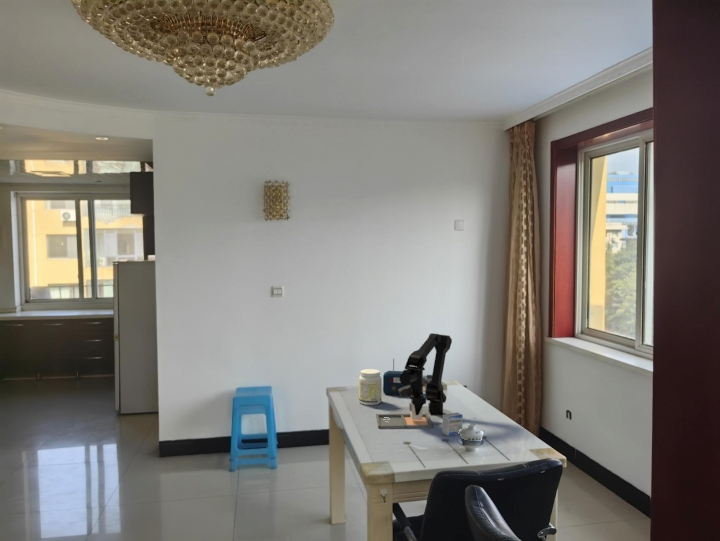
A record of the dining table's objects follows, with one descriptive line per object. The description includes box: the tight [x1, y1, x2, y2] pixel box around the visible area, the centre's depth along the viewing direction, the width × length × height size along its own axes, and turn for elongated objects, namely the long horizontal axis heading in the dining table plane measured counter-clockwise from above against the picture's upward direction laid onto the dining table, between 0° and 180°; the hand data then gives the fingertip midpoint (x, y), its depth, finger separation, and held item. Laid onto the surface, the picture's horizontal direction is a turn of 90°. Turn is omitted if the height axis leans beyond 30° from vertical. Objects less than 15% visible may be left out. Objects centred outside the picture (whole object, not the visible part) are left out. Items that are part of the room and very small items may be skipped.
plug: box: [409, 399, 423, 420], centre depth 248 cm, size 6×4×8 cm
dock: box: [375, 413, 434, 430], centre depth 248 cm, size 25×17×2 cm
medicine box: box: [442, 412, 464, 437], centre depth 234 cm, size 8×4×9 cm, turn 117°
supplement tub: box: [358, 368, 383, 406], centre depth 280 cm, size 12×12×17 cm
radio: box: [382, 358, 411, 397], centre depth 297 cm, size 21×9×20 cm, turn 81°
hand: (416, 413), depth 248 cm, fingers closed on plug, 4 cm apart
